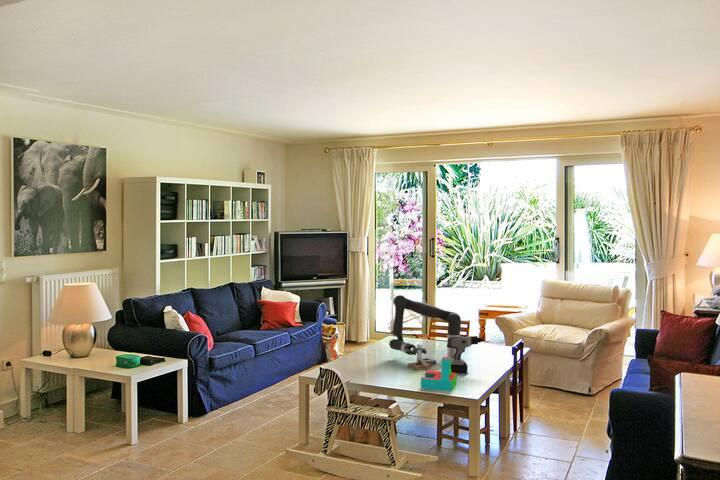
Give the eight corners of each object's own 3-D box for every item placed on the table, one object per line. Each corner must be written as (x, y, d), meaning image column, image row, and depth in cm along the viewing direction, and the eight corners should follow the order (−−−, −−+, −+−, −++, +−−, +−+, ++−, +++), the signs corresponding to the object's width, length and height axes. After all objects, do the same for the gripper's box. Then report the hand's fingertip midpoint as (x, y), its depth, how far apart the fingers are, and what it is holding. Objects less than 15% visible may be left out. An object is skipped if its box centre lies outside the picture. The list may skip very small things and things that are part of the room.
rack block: (422, 365, 430) (422, 361, 430) (430, 368, 421) (430, 364, 421) (408, 366, 424) (408, 363, 424) (415, 370, 415) (415, 366, 415)
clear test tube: (419, 366, 425) (420, 343, 424) (422, 367, 422) (423, 344, 421) (415, 367, 423) (416, 344, 422) (418, 368, 420) (418, 345, 419)
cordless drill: (483, 375, 403) (483, 337, 402) (446, 372, 408) (446, 335, 407) (483, 372, 411) (483, 335, 410) (446, 370, 416) (447, 333, 415)
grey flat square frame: (428, 360, 443) (428, 357, 443) (436, 363, 434) (436, 360, 434) (416, 362, 438) (416, 358, 438) (424, 365, 429) (424, 361, 429)
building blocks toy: (457, 380, 389) (457, 352, 389) (451, 391, 365) (452, 361, 365) (428, 378, 395) (428, 350, 394) (420, 388, 371) (421, 358, 370)
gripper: (399, 344, 431) (412, 348, 417) (416, 342, 438) (429, 346, 424) (399, 354, 432) (412, 359, 417) (416, 352, 438) (429, 357, 424)
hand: (420, 353), depth 420 cm, fingers open, 8 cm apart
